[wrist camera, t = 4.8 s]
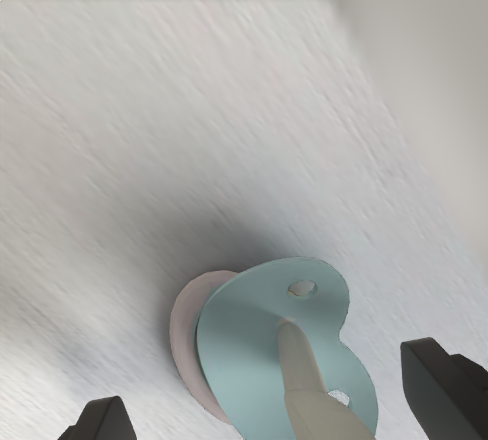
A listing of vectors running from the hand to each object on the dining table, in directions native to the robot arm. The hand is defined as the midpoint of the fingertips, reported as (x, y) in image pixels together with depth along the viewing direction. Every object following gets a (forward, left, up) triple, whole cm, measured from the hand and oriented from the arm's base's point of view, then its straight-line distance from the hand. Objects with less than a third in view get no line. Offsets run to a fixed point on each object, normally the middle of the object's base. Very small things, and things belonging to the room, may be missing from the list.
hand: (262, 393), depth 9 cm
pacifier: (0, 0, -2) cm, 2 cm away
